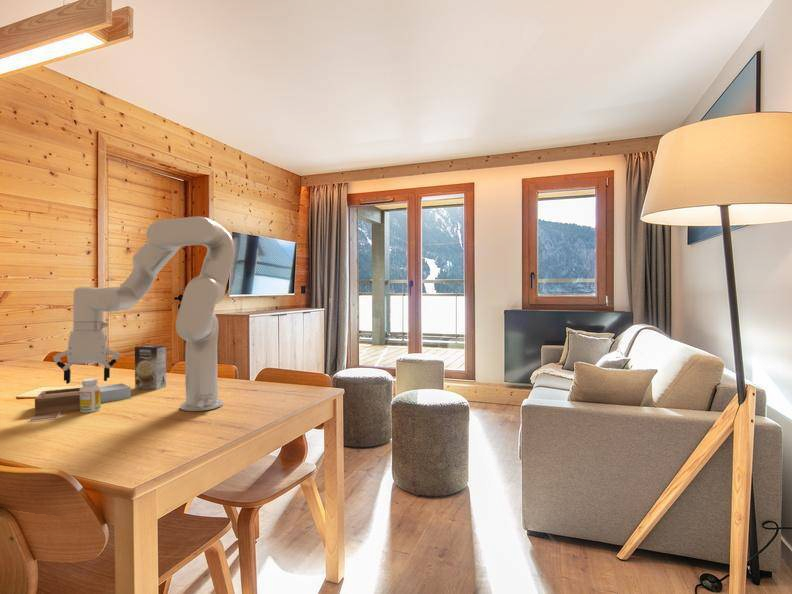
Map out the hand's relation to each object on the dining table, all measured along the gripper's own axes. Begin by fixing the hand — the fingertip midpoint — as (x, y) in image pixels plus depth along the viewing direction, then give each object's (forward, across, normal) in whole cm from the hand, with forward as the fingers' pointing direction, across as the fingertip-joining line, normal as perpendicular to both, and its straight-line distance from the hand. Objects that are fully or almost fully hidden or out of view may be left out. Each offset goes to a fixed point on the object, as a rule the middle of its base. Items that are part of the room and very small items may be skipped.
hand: (87, 381), depth 141 cm
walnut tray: (+9, +7, -8) cm, 14 cm away
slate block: (+10, -6, -15) cm, 18 cm away
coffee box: (+9, -18, -26) cm, 33 cm away
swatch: (+9, +10, +2) cm, 14 cm away
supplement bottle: (+9, -1, 0) cm, 9 cm away
